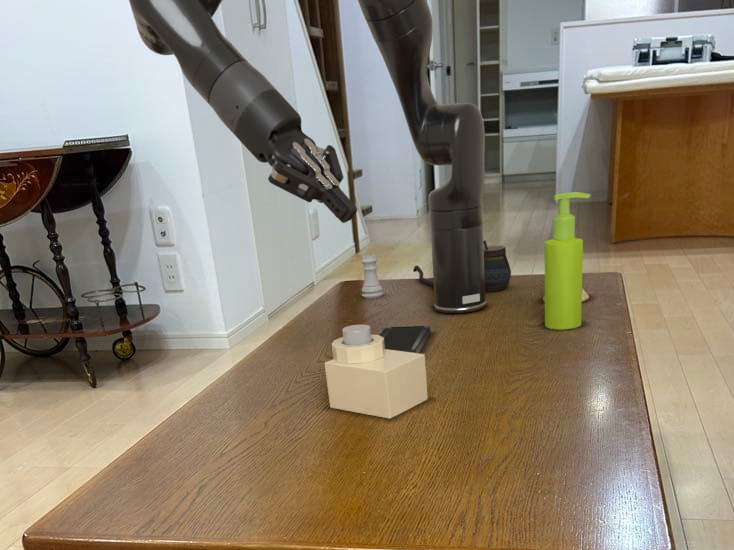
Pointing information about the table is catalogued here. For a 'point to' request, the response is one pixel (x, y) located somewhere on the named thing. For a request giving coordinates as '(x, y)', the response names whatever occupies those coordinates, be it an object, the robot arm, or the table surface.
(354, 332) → the grey push button
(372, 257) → the rook chess piece
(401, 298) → the table surface
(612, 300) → the table surface
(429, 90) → the robot arm
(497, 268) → the mate gourd
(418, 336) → the phone
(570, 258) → the soap dispenser
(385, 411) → the push button station
